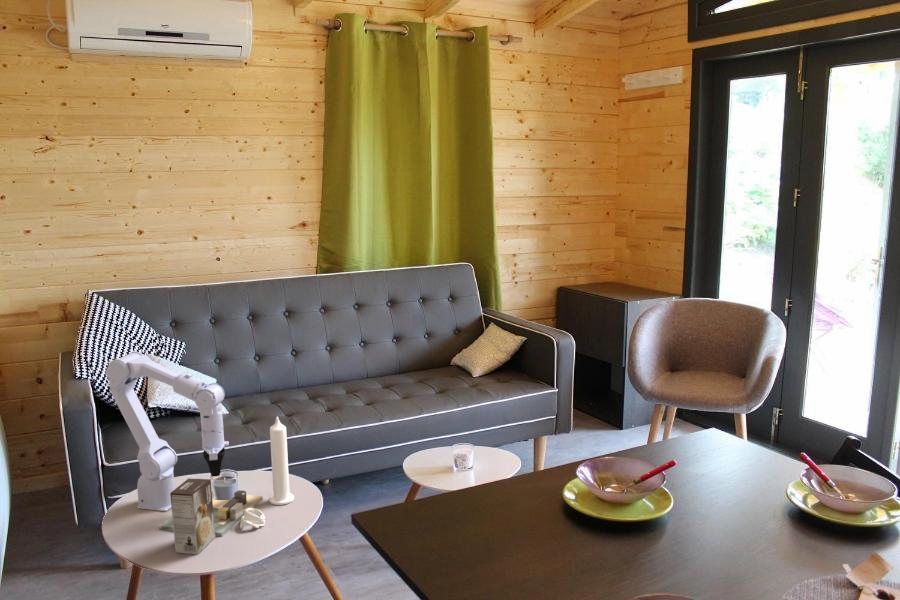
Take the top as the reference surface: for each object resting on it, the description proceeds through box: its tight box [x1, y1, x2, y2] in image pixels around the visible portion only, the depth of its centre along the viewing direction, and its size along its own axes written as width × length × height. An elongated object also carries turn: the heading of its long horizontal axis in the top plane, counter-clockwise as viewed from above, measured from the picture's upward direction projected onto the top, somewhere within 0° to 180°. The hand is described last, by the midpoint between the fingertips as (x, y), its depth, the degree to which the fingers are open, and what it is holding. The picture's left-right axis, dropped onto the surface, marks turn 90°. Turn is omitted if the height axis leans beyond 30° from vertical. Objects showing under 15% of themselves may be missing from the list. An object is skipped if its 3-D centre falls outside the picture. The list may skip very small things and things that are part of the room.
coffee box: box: [170, 477, 216, 555], centre depth 191 cm, size 9×6×16 cm
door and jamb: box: [159, 490, 263, 537], centre depth 209 cm, size 18×22×4 cm
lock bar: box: [218, 490, 247, 520], centre depth 208 cm, size 12×3×3 cm, turn 167°
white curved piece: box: [239, 507, 266, 530], centre depth 203 cm, size 8×7×5 cm
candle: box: [268, 416, 295, 506], centre depth 215 cm, size 7×7×25 cm
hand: (215, 475), depth 211 cm, fingers closed
